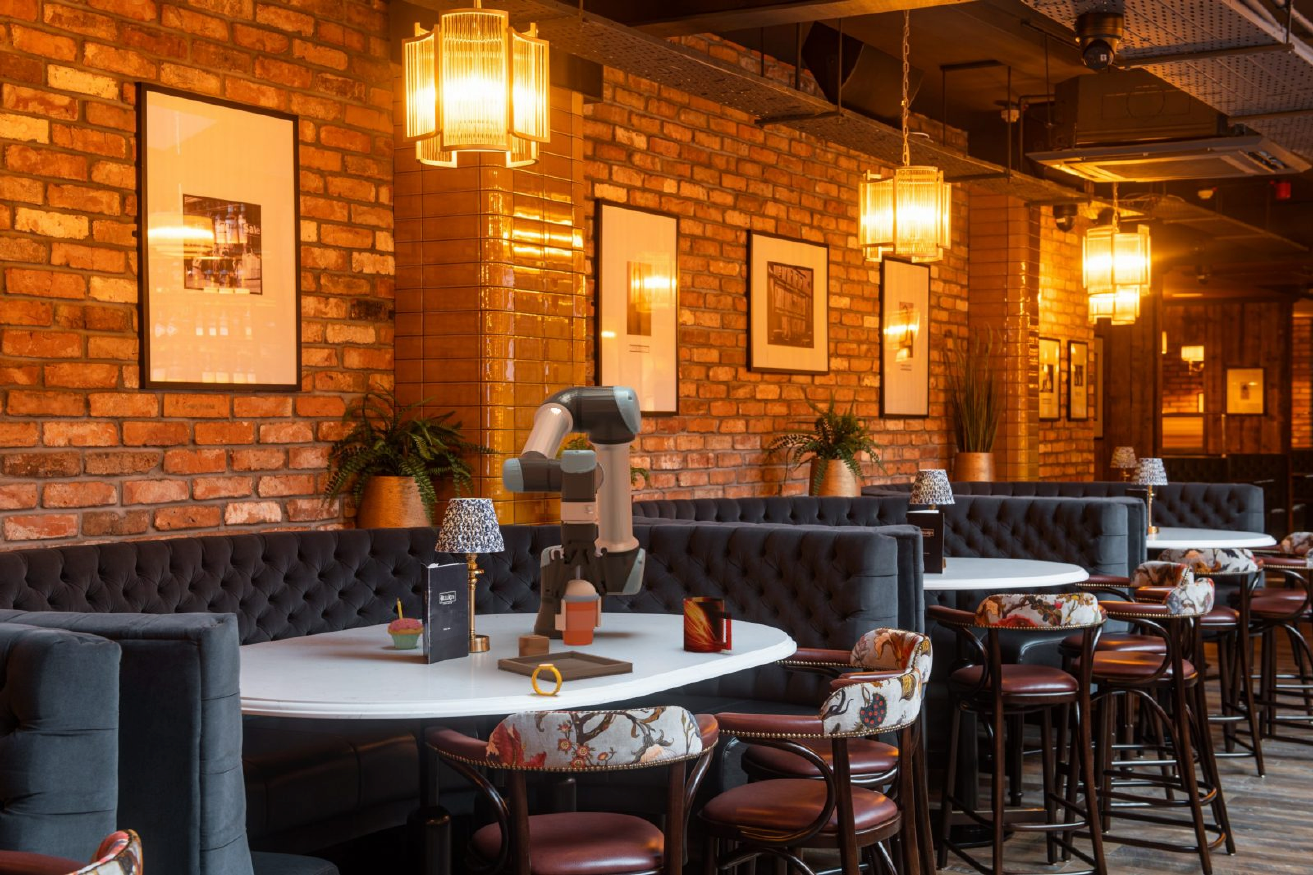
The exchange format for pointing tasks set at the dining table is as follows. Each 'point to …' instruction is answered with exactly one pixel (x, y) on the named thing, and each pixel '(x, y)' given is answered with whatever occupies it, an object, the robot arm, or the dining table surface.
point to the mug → (706, 625)
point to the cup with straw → (579, 612)
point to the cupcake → (405, 631)
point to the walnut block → (533, 645)
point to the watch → (557, 674)
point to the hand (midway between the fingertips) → (578, 628)
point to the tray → (566, 665)
